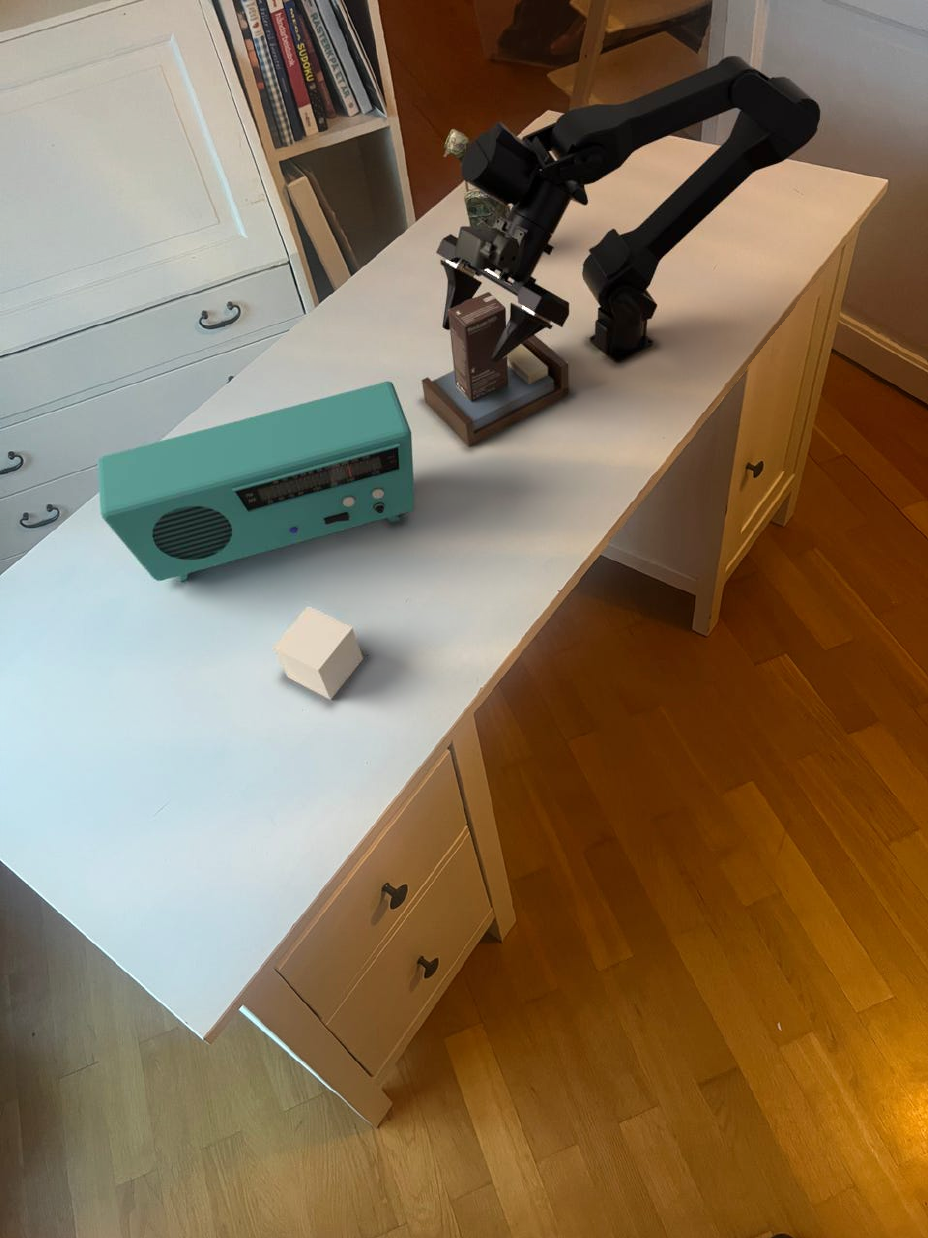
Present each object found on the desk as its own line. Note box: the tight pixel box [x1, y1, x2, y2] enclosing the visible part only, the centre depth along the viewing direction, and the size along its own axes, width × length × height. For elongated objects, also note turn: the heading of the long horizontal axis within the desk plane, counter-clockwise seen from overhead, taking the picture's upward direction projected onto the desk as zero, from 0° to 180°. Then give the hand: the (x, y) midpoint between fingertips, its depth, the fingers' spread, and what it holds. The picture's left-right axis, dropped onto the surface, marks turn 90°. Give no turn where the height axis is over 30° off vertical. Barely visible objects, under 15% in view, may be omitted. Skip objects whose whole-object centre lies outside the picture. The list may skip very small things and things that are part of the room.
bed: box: [421, 334, 570, 448], centre depth 117 cm, size 16×11×5 cm
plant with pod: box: [442, 128, 511, 228], centre depth 130 cm, size 8×11×20 cm
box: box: [448, 291, 508, 402], centre depth 111 cm, size 6×4×12 cm
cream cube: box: [272, 605, 364, 701], centre depth 94 cm, size 6×6×6 cm
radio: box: [97, 381, 415, 582], centre depth 103 cm, size 34×10×15 cm, turn 105°
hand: (469, 344), depth 110 cm, fingers open, 9 cm apart
